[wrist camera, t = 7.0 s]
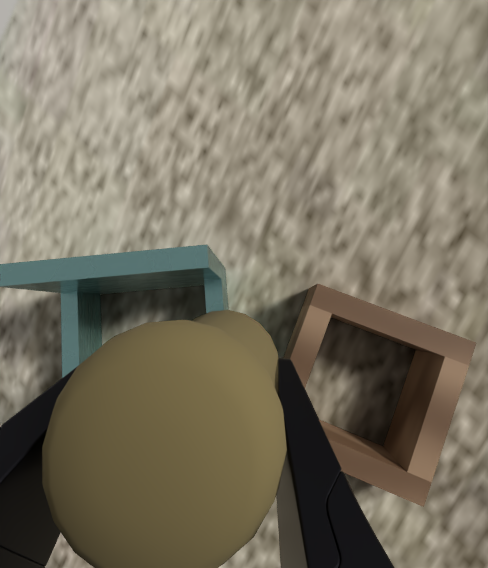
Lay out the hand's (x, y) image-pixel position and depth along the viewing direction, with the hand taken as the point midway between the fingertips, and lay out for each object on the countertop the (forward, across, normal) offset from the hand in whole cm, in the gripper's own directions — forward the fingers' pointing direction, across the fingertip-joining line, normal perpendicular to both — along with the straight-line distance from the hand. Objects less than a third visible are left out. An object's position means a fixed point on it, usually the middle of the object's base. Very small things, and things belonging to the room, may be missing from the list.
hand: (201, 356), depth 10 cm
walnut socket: (+8, -9, +11) cm, 16 cm away
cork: (+4, 0, +6) cm, 7 cm away
